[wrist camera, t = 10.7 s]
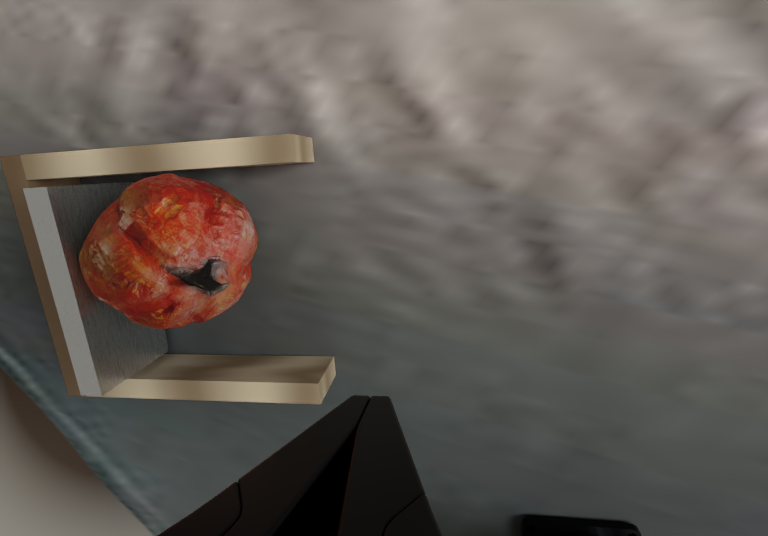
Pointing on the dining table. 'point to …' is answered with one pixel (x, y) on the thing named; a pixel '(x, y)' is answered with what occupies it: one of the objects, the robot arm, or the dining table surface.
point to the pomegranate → (170, 252)
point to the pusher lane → (173, 371)
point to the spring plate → (87, 289)
